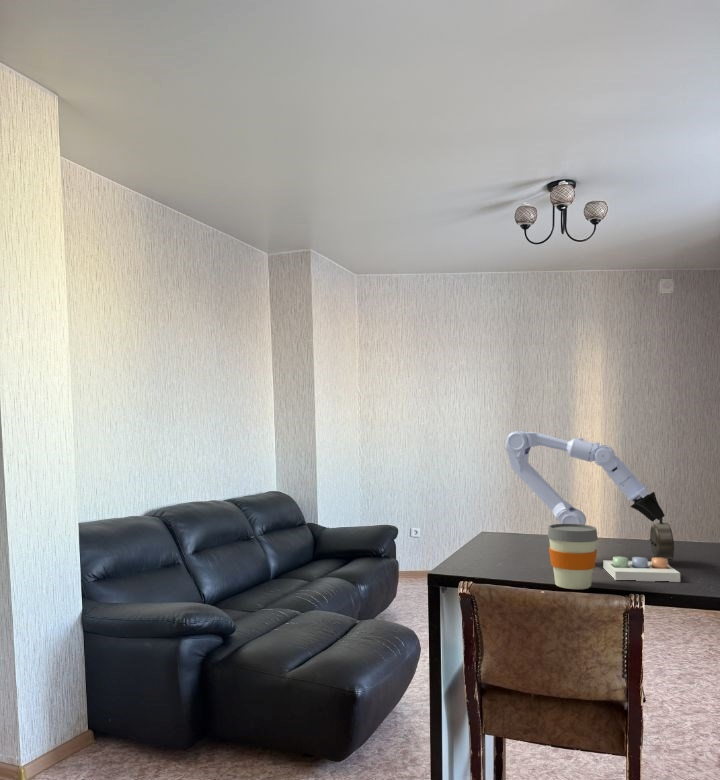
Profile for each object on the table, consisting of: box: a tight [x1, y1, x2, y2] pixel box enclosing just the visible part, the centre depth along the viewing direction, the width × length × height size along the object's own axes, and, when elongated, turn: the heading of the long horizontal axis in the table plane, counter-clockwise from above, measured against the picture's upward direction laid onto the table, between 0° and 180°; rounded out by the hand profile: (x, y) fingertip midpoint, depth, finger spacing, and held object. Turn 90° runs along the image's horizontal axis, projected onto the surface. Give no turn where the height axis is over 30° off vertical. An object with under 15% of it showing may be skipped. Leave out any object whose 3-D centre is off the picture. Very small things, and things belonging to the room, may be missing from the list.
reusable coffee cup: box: [547, 523, 598, 590], centre depth 179 cm, size 13×12×15 cm
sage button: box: [612, 555, 629, 568], centre depth 190 cm, size 4×4×3 cm
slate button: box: [631, 556, 649, 568], centre depth 189 cm, size 4×4×3 cm
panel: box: [602, 559, 681, 583], centre depth 189 cm, size 17×14×2 cm
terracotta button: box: [651, 556, 668, 569], centre depth 189 cm, size 4×4×3 cm
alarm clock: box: [648, 517, 675, 567], centre depth 204 cm, size 11×5×16 cm, turn 168°
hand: (658, 518), depth 194 cm, fingers open, 7 cm apart
